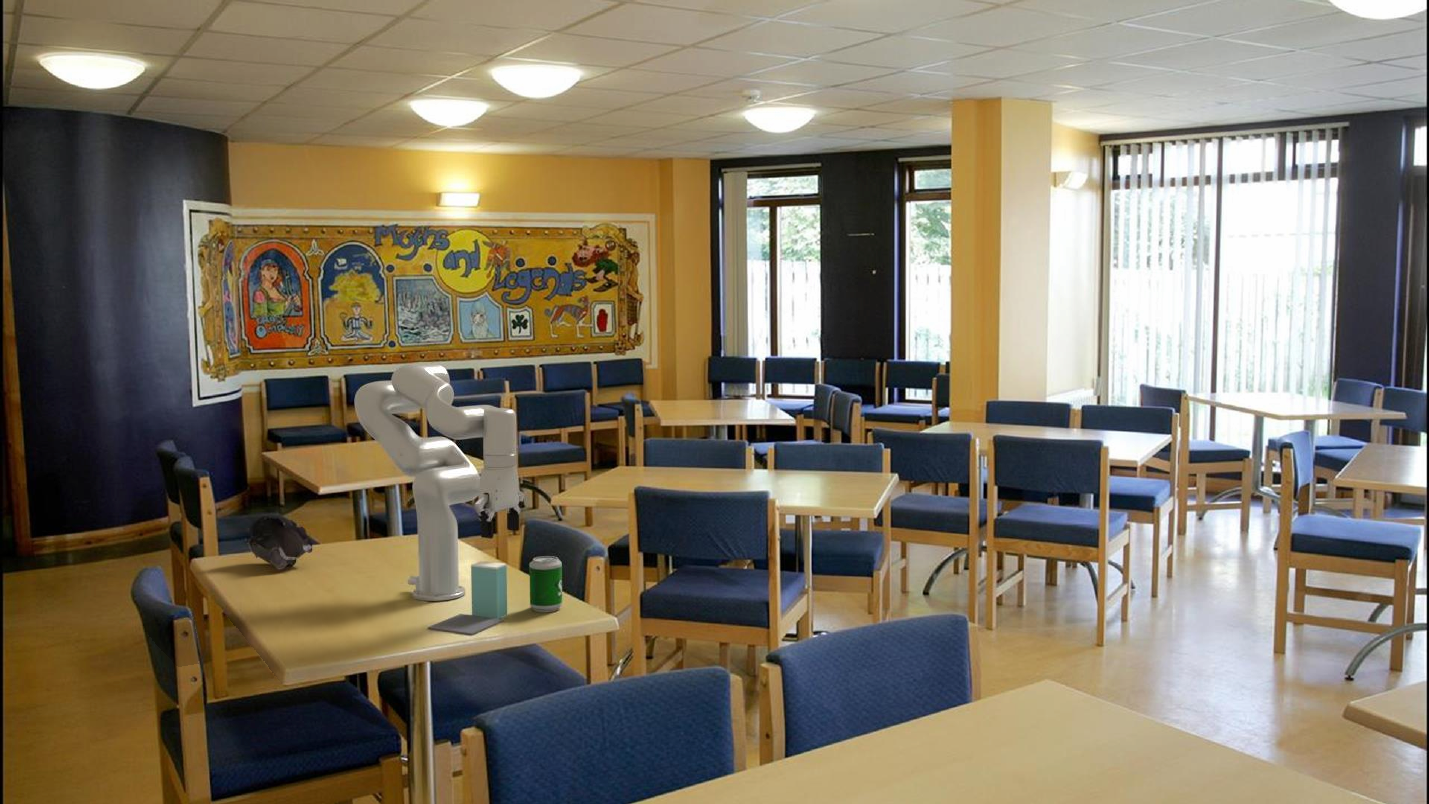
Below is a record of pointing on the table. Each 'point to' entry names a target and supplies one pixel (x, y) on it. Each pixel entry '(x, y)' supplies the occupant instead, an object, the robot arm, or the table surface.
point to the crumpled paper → (278, 541)
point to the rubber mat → (466, 624)
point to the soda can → (545, 584)
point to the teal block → (489, 589)
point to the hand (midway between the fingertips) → (500, 533)
